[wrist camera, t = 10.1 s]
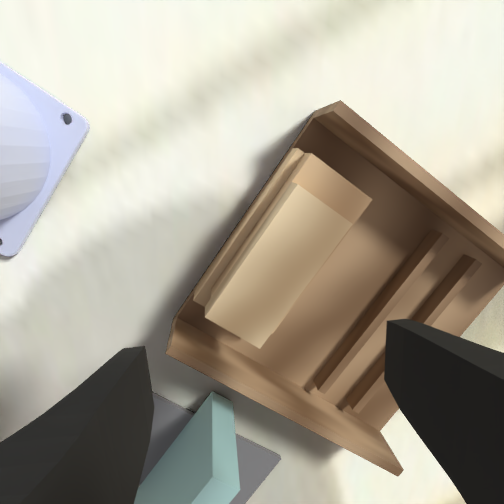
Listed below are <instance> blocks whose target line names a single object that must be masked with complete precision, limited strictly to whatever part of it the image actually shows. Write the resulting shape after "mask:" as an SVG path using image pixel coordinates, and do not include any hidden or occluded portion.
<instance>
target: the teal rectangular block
mask: <svg viewBox="0 0 504 504" xmlns="http://www.w3.org/2000/svg"><path fill="white" fill-rule="evenodd" d="M239 491H240V481H239V470H238V458H237V446H236V435H235V423H234V412H233V402H231V401H229V400H228V399H226V398H224V397H222V396H220V395H218V394H216V393H215V392H213V391H212V392H211V393H210V395H209V396H208V397H207V399H206V400H205V401H204V403H203V404H202V405H201V406H200V408H199V409H198V410H197V412H196V413H195V414H194V416H193V417H192V418H191V420H190V421H189V422H188V423H187V425H186V426H185V427H184V429H183V430H182V431H181V433H180V434H179V435H178V437H177V438H176V439H175V440H174V442H173V443H172V444H171V446H170V447H169V448H168V450H167V451H166V452H165V454H164V455H163V456H162V457H161V459H160V460H159V461H158V463H157V464H156V465H155V467H154V468H153V469H152V471H151V472H150V473H149V474H148V476H147V477H146V478H145V480H144V481H143V482H142V484H141V485H140V486H139V488H138V490H137V494H136V498H135V501H134V504H229V503H230V502H231V501H232V499H233V498H234V497H235V496H236V495H237V493H238V492H239Z"/></svg>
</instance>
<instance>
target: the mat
mask: <svg viewBox="0 0 504 504" xmlns="http://www.w3.org/2000/svg"><path fill="white" fill-rule="evenodd" d="M152 395H153V401H154V415H153V423H152V431H151V438H150V443H149V447H148V451H147V455H146V459H145V463H144V467H143V471H142V475H141V478H140V482H139V485H141V484H142V482H143V481H144V480H145V478H146V477H147V476H148V474H149V473H150V472H151V471H152V469H153V468H154V467H155V465H156V464H157V463H158V461H159V460H160V459H161V457H162V456H163V455H164V454H165V452H166V451H167V450H168V448H169V447H170V446H171V444H172V443H173V442H174V440H175V439H176V438H177V437H178V435H179V434H180V433H181V431H182V430H183V429H184V427H185V426H186V425H187V423H188V422H189V421H190V420H191V418H192V417H193V416H194V414H195V413H193V412H191V411H189V410H187V409H185V408H183V407H181V406H179V405H177V404H175V403H173V402H171V401H169V400H167V399H165V398H163V397H161V396H159V395H157V394H155V393H153V392H152ZM235 435H236V446H237V458H238V470H239V481H240V491H239V492H238V493H237V495H236V496H235V497H234V498H233V499H232V501H231V502H230V503H229V504H245V503H246V502H247V501H248V500H249V498H250V497H251V496H252V495H253V493H254V492H255V491H256V490H257V488H258V487H259V486H260V485H261V483H262V482H263V481H264V480H265V478H266V477H267V476H268V475H269V473H270V472H271V471H272V470H273V468H274V467H275V466H276V465H277V463H278V462H279V461H280V460H281V457H280V455H278V454H276V453H274V452H272V451H270V450H268V449H266V448H264V447H262V446H260V445H258V444H256V443H254V442H252V441H250V440H248V439H246V438H244V437H242V436H240V435H238V434H236V433H235Z"/></svg>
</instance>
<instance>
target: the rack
mask: <svg viewBox="0 0 504 504" xmlns="http://www.w3.org/2000/svg"><path fill="white" fill-rule="evenodd" d="M503 285H504V234H502V233H501V232H500V231H499V230H498V229H496V228H495V227H494V226H493V225H492V224H490V223H489V222H488V221H487V220H485V219H484V218H483V217H482V216H481V215H479V214H478V213H477V212H476V211H475V210H473V209H472V208H471V207H470V206H468V205H467V204H466V203H465V202H464V201H462V200H461V199H460V198H459V197H457V196H456V195H455V194H454V193H453V192H451V191H450V190H449V189H448V188H447V187H445V186H444V185H443V184H442V183H440V182H439V181H438V180H437V179H436V178H434V177H433V176H432V175H431V174H430V173H428V172H427V171H426V170H425V169H423V168H422V167H421V166H420V165H419V164H417V163H416V162H415V161H414V160H412V159H411V158H410V157H409V156H408V155H406V154H405V153H404V152H403V151H402V150H400V149H399V148H398V147H397V146H395V145H394V144H393V143H392V142H391V141H389V140H388V139H387V138H386V137H385V136H383V135H382V134H381V133H380V132H378V131H377V130H376V129H375V128H374V127H372V126H371V125H370V124H369V123H368V122H366V121H365V120H364V119H363V118H361V117H360V116H359V115H358V114H357V113H355V112H354V111H353V110H352V109H350V108H349V107H348V106H347V105H346V104H344V103H343V102H342V101H341V100H340V101H338V102H335V103H333V104H330V105H328V106H326V107H323V108H321V109H318V110H316V111H315V112H314V113H313V115H312V116H311V117H310V119H309V120H308V122H307V123H306V125H305V126H304V128H303V129H302V131H301V132H300V134H299V135H298V137H297V138H296V139H295V141H294V142H293V144H292V145H291V147H290V148H289V150H288V151H287V153H286V154H285V156H284V157H283V158H282V160H281V161H280V163H279V164H278V166H277V167H276V169H275V170H274V172H273V173H272V175H271V176H270V178H269V179H268V180H267V182H266V183H265V185H264V186H263V188H262V189H261V191H260V192H259V194H258V195H257V197H256V198H255V200H254V201H253V202H252V204H251V205H250V207H249V208H248V210H247V211H246V213H245V214H244V216H243V217H242V219H241V220H240V221H239V223H238V224H237V226H236V227H235V229H234V230H233V232H232V233H231V235H230V236H229V238H228V239H227V241H226V242H225V243H224V245H223V246H222V248H221V249H220V251H219V252H218V254H217V255H216V257H215V258H214V260H213V261H212V262H211V264H210V265H209V267H208V268H207V270H206V271H205V273H204V274H203V276H202V277H201V279H200V280H199V282H198V283H197V284H196V286H195V287H194V289H193V290H192V292H191V293H190V295H189V296H188V298H187V299H186V301H185V302H184V303H183V305H182V306H181V308H180V309H179V311H178V312H177V314H176V315H175V317H174V318H173V323H172V327H171V331H170V336H169V340H168V344H167V349H166V353H165V354H167V355H169V356H171V357H173V358H175V359H177V360H178V361H180V362H182V363H184V364H186V365H188V366H190V367H192V368H194V369H195V370H197V371H199V372H201V373H203V374H205V375H207V376H209V377H211V378H213V379H214V380H216V381H218V382H220V383H222V384H224V385H226V386H228V387H230V388H231V389H233V390H235V391H237V392H239V393H241V394H243V395H245V396H247V397H248V398H250V399H252V400H254V401H256V402H258V403H260V404H262V405H264V406H266V407H267V408H269V409H271V410H273V411H275V412H277V413H279V414H281V415H283V416H284V417H286V418H288V419H290V420H292V421H294V422H296V423H298V424H300V425H301V426H303V427H305V428H307V429H309V430H311V431H313V432H315V433H317V434H318V435H320V436H322V437H324V438H326V439H328V440H330V441H332V442H334V443H336V444H337V445H339V446H341V447H343V448H345V449H347V450H349V451H351V452H353V453H354V454H356V455H358V456H360V457H362V458H364V459H366V460H368V461H370V462H371V463H373V464H375V465H377V466H379V467H381V468H383V469H385V470H387V471H388V472H390V473H392V474H394V475H396V476H399V475H400V474H401V473H402V471H403V468H402V467H401V465H400V463H399V462H398V460H397V458H396V457H395V455H394V454H393V452H392V450H391V449H390V447H389V445H388V444H387V442H386V440H385V439H384V437H383V435H382V434H381V432H380V430H381V429H382V428H383V427H384V425H385V424H386V423H387V422H388V421H389V420H390V418H391V417H392V416H393V415H394V414H395V412H396V411H397V410H398V409H399V407H398V405H397V403H396V401H395V399H394V398H393V396H392V394H391V392H390V390H389V388H388V386H387V384H386V382H385V380H384V370H385V347H386V325H387V321H389V320H398V319H410V320H413V321H417V322H420V323H423V324H426V325H428V326H431V327H434V328H437V329H439V330H442V331H445V332H447V333H450V334H452V335H455V336H458V337H460V336H461V335H462V334H463V332H464V331H465V330H466V329H467V328H468V326H469V325H470V324H471V323H472V322H473V321H474V319H475V318H476V317H477V316H478V315H479V314H480V312H481V311H482V310H483V309H484V308H485V306H486V305H487V304H488V303H489V302H490V301H491V299H492V298H493V297H494V296H495V295H496V294H497V292H498V291H499V290H500V289H501V288H502V286H503Z"/></svg>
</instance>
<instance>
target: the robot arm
mask: <svg viewBox="0 0 504 504" xmlns="http://www.w3.org/2000/svg"><path fill="white" fill-rule="evenodd" d="M65 114H70V115H71V117H72V122H71V123H70V124H68V125H67V124H66V123H65V122H64V120H63V118H64V115H65ZM89 129H90V127H89V122H88V120H87V119H86V118H85V117H84V116H82V115H81V114H79V113H78V112H76V111H75V110H73V109H72V108H70V107H69V106H67V105H65V104H64V103H62V102H61V101H59V100H58V99H56V98H55V97H53V96H52V95H50V94H49V93H47V92H46V91H44V90H43V89H41V88H40V87H38V86H37V85H35V84H34V83H32V82H31V81H29V80H28V79H26V78H25V77H23V76H22V75H20V74H19V73H17V72H16V71H14V70H13V69H11V68H10V67H8V66H7V65H5V64H4V63H2V62H1V61H0V238H1V239H2V242H3V243H2V245H0V254H1V255H4V256H7V257H10V256H13V255H15V254H17V253H18V252H19V251H20V250H21V248H22V246H23V245H24V243H25V241H26V240H27V238H28V236H29V234H30V233H31V231H32V229H33V227H34V226H35V224H36V222H37V220H38V219H39V217H40V215H41V214H42V212H43V210H44V208H45V207H46V205H47V203H48V201H49V200H50V198H51V196H52V194H53V193H54V191H55V189H56V188H57V186H58V184H59V182H60V181H61V179H62V177H63V175H64V174H65V172H66V170H67V168H68V167H69V165H70V163H71V161H72V160H73V158H74V156H75V155H76V153H77V151H78V149H79V148H80V146H81V144H82V142H83V141H84V139H85V137H86V135H87V134H88V132H89ZM384 380H385V382H386V384H387V386H388V388H389V390H390V392H391V394H392V396H393V398H394V399H395V401H396V403H397V405H398V407H399V408H400V410H401V411H402V413H403V414H404V416H405V417H406V418H407V420H408V421H409V423H410V424H411V425H412V427H413V428H414V430H415V431H416V432H417V434H418V435H419V437H420V438H421V439H422V441H423V442H424V443H425V445H426V446H427V447H428V449H429V450H430V452H431V453H432V454H433V456H434V457H435V458H436V460H437V461H438V462H439V464H440V465H441V467H442V468H443V469H444V471H445V472H446V473H447V475H448V476H449V478H450V479H451V481H452V482H453V483H454V485H455V486H456V488H457V489H458V491H459V492H460V494H461V495H462V497H463V499H464V500H465V502H466V504H504V353H502V352H499V351H496V350H493V349H490V348H487V347H485V346H482V345H479V344H476V343H474V342H471V341H468V340H466V339H463V338H460V337H458V336H455V335H452V334H450V333H447V332H445V331H442V330H439V329H437V328H434V327H431V326H428V325H426V324H423V323H420V322H417V321H413V320H410V319H398V320H389V321H387V325H386V347H385V370H384ZM153 415H154V401H153V395H152V388H151V382H150V375H149V369H148V362H147V356H146V349H145V346H142V347H133V348H123V349H122V350H121V351H119V352H118V353H117V354H116V355H114V356H113V357H112V358H111V359H110V360H108V361H107V362H106V363H105V364H104V365H103V366H102V367H100V368H99V369H98V370H97V371H96V372H95V373H93V374H92V375H91V376H90V377H89V378H88V379H86V380H85V381H84V382H83V383H82V384H81V385H79V386H78V387H77V388H76V389H75V390H73V391H72V392H71V393H69V394H68V395H67V396H66V397H64V398H63V399H62V400H60V401H59V402H58V403H57V404H55V405H54V406H53V407H52V408H50V409H49V410H48V411H46V412H45V413H44V414H42V415H41V416H39V417H38V418H37V419H35V420H34V421H32V422H31V423H30V424H28V425H27V426H25V427H24V428H22V429H21V430H19V431H18V432H16V433H14V434H13V435H11V436H10V437H8V438H7V439H5V440H4V441H2V442H1V443H0V504H134V501H135V498H136V494H137V490H138V486H139V482H140V478H141V475H142V471H143V467H144V463H145V459H146V455H147V451H148V447H149V443H150V438H151V431H152V423H153Z"/></svg>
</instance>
